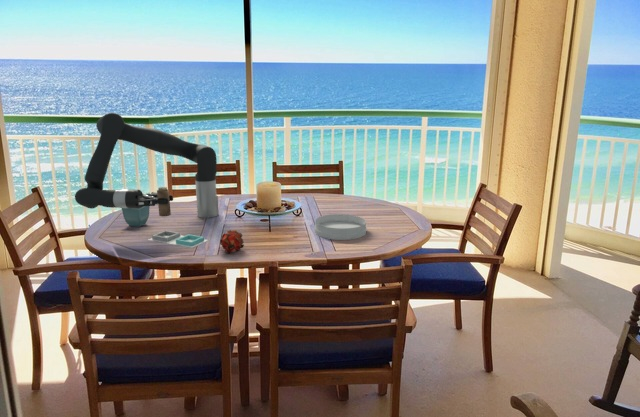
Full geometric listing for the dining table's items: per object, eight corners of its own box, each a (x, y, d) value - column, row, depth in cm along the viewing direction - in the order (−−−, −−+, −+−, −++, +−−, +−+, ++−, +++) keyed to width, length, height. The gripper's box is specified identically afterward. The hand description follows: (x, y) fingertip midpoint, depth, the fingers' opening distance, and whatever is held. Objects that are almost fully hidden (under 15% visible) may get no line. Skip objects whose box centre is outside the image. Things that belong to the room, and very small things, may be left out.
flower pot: (141, 228, 212) (139, 208, 210) (122, 227, 214) (120, 207, 211) (151, 223, 220) (150, 203, 218) (134, 221, 222) (132, 202, 220)
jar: (169, 212, 197) (166, 186, 194) (172, 215, 193) (169, 188, 190) (158, 214, 195) (155, 187, 192) (160, 217, 191) (158, 189, 188)
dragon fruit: (235, 248, 192) (233, 264, 181) (217, 237, 190) (214, 252, 179) (247, 232, 190) (246, 247, 179) (229, 221, 187) (226, 235, 176)
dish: (371, 227, 216) (372, 216, 215) (358, 242, 196) (359, 231, 195) (324, 222, 223) (324, 212, 222) (307, 236, 203) (307, 225, 202)
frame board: (148, 242, 194) (147, 236, 194) (165, 235, 203) (165, 229, 202) (192, 250, 185) (191, 243, 185) (208, 242, 194) (208, 236, 193)
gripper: (118, 194, 185) (162, 194, 184) (135, 185, 199) (176, 186, 198) (121, 212, 187) (164, 213, 186) (137, 203, 201) (177, 204, 200)
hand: (170, 199), depth 192 cm, fingers closed on jar, 4 cm apart
